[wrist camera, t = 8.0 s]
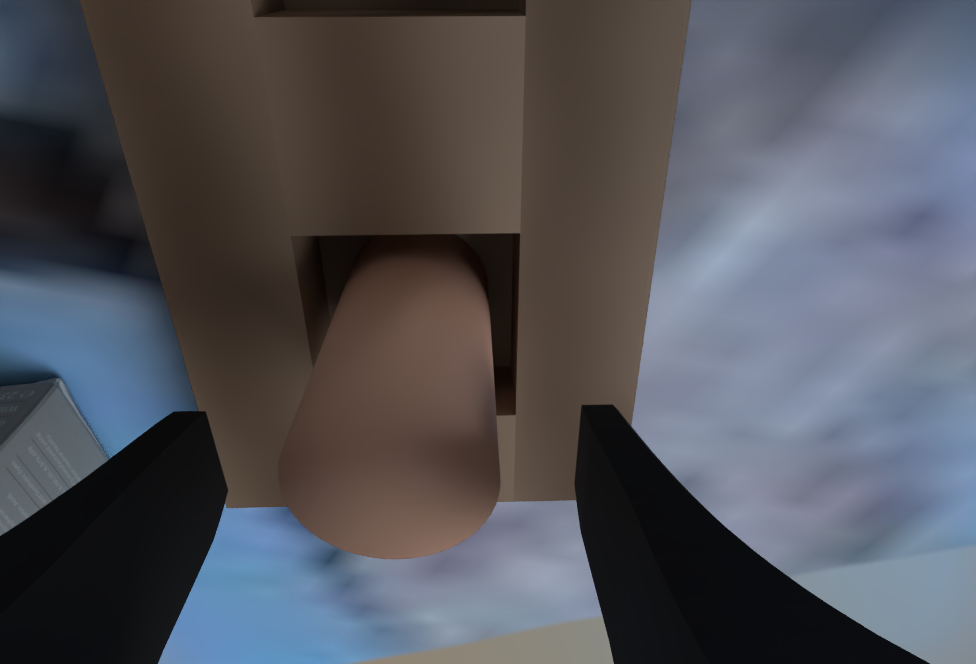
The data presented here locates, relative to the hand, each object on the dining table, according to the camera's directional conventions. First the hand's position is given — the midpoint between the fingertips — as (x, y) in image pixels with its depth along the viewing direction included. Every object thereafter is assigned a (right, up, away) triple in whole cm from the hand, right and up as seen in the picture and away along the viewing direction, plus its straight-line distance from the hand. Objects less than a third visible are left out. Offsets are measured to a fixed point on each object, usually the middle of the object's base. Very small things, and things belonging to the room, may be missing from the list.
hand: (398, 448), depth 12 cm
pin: (0, +3, +6) cm, 7 cm away
